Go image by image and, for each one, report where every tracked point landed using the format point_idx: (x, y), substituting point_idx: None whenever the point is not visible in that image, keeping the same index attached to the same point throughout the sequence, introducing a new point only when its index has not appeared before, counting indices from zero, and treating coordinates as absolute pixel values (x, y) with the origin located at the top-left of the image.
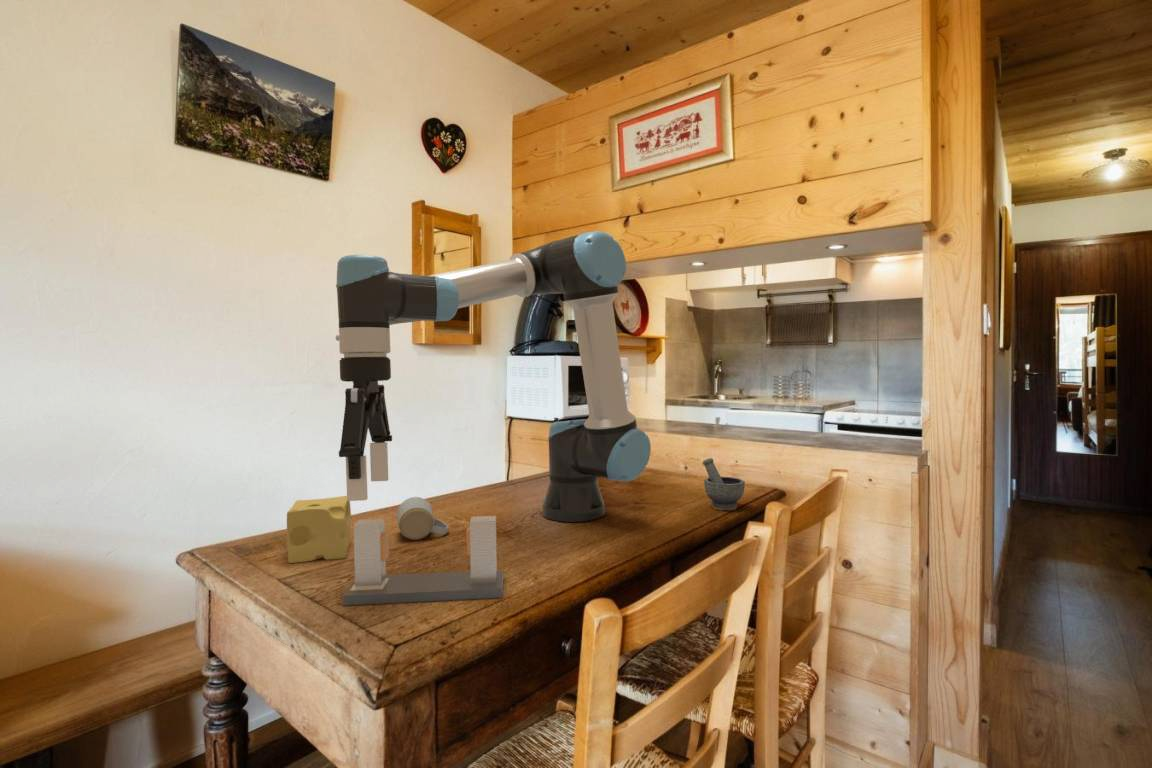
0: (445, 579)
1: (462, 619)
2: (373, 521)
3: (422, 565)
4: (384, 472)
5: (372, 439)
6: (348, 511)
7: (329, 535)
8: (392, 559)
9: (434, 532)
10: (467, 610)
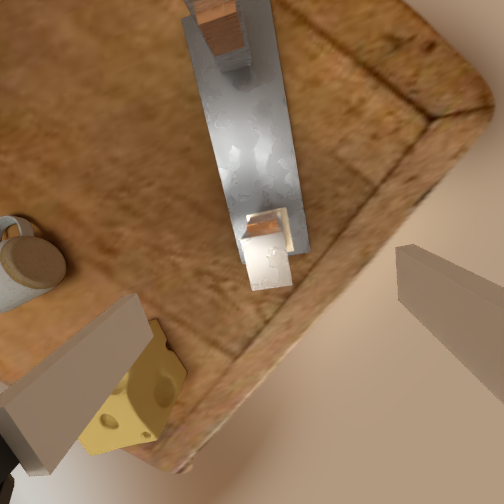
0: (239, 120)
1: (352, 46)
2: (262, 256)
3: (157, 201)
4: (122, 315)
5: (8, 493)
6: None
7: (148, 357)
8: (145, 255)
9: (33, 231)
10: (319, 51)
